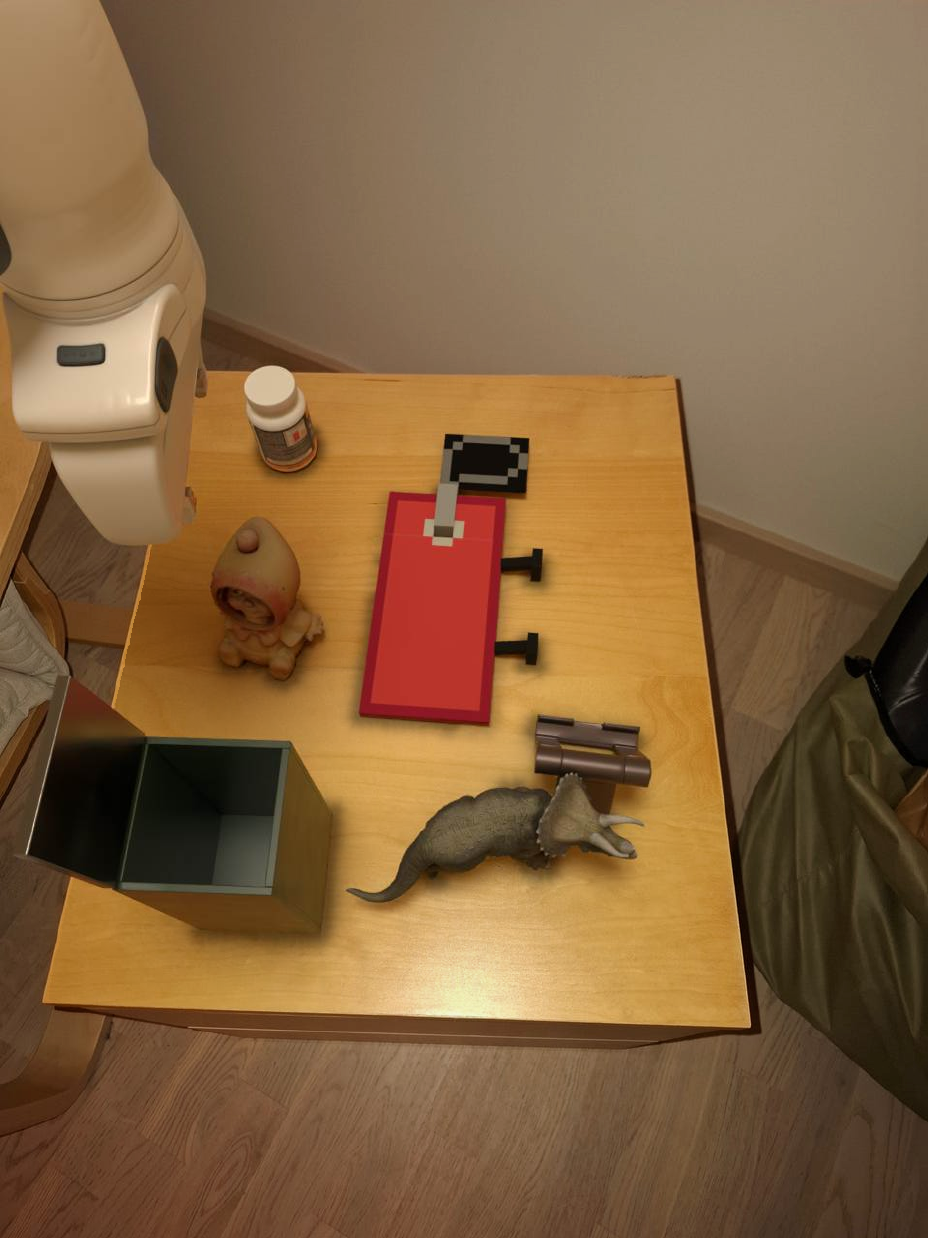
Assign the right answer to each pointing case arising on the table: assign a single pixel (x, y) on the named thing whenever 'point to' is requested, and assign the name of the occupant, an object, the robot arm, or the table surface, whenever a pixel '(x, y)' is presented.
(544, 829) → the toy dinosaur
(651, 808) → the table surface
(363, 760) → the table surface
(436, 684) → the red board with handle
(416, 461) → the table surface
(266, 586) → the figurine
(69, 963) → the table surface
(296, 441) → the pill bottle
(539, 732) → the tablet stand
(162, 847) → the trash can
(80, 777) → the trash can lid
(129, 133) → the robot arm
